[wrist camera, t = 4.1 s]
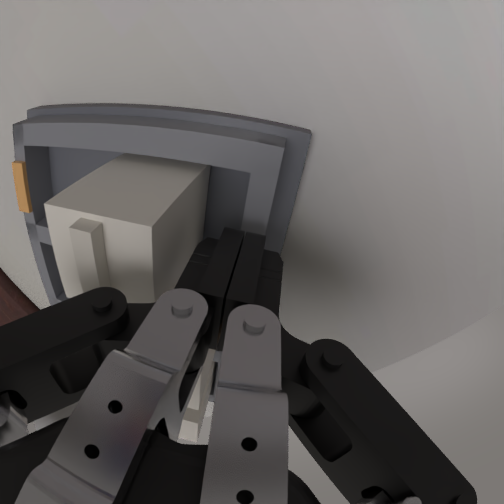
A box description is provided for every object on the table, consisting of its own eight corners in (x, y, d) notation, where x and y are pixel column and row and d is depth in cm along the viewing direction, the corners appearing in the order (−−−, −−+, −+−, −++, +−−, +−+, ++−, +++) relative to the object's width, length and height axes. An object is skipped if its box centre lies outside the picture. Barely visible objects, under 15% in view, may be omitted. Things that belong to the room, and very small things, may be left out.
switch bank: (310, 130, 12) (315, 145, 9) (242, 377, 23) (236, 412, 21) (40, 106, 12) (-1, 119, 10) (80, 327, 24) (63, 354, 21)
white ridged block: (211, 161, 12) (141, 238, 7) (202, 238, 14) (151, 340, 9) (130, 149, 12) (32, 212, 7) (131, 222, 14) (58, 307, 9)
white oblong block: (219, 344, 19) (195, 432, 13) (215, 374, 21) (195, 450, 16) (163, 329, 19) (127, 411, 13) (166, 361, 21) (138, 432, 16)
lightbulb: (74, 366, 29) (37, 435, 20) (105, 394, 32) (76, 460, 23) (53, 366, 31) (20, 425, 22) (82, 392, 34) (54, 450, 25)
